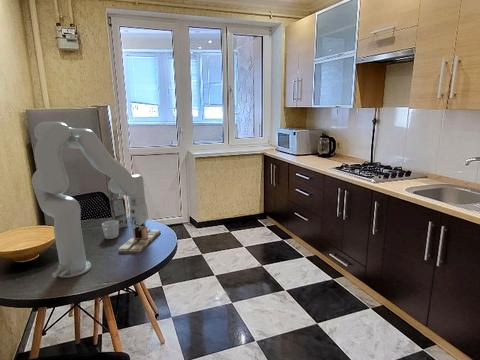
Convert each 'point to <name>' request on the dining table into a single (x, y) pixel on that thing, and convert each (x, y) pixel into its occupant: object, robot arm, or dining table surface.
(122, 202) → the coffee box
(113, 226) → the cup
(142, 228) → the fader tab
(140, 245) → the slider board
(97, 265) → the dining table surface
